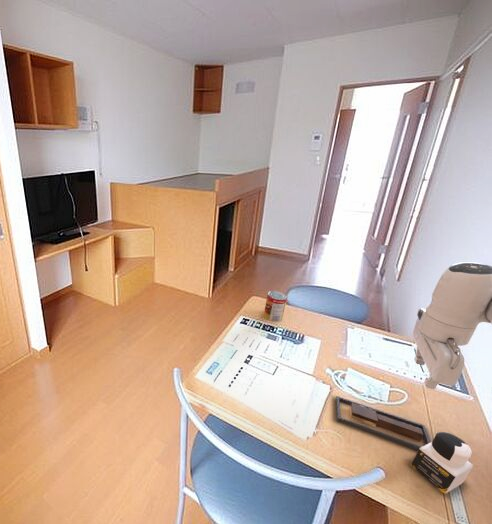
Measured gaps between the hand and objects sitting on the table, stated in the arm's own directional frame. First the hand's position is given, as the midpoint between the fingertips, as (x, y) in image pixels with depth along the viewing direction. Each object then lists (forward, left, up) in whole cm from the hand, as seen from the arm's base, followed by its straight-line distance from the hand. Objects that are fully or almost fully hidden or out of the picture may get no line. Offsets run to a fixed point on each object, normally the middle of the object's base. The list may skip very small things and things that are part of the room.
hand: (423, 374), depth 77 cm
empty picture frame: (+4, 0, -21) cm, 21 cm away
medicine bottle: (-6, +10, -21) cm, 24 cm away
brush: (+4, 0, -20) cm, 21 cm away
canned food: (+38, -45, -21) cm, 63 cm away
